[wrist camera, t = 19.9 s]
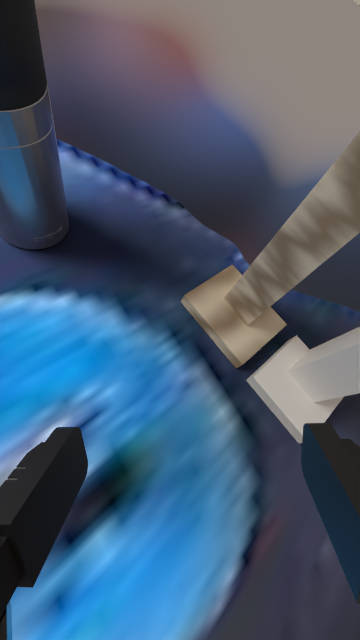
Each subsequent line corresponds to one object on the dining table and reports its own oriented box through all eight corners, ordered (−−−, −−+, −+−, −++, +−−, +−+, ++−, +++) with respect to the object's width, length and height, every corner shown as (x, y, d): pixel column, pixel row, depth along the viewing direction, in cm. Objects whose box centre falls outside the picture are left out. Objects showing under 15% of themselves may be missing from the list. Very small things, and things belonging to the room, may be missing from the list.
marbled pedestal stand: (180, 301, 39) (385, -81, 10) (227, 271, 43) (459, -55, 15) (236, 368, 37) (678, 113, 8) (279, 329, 41) (663, 77, 13)
